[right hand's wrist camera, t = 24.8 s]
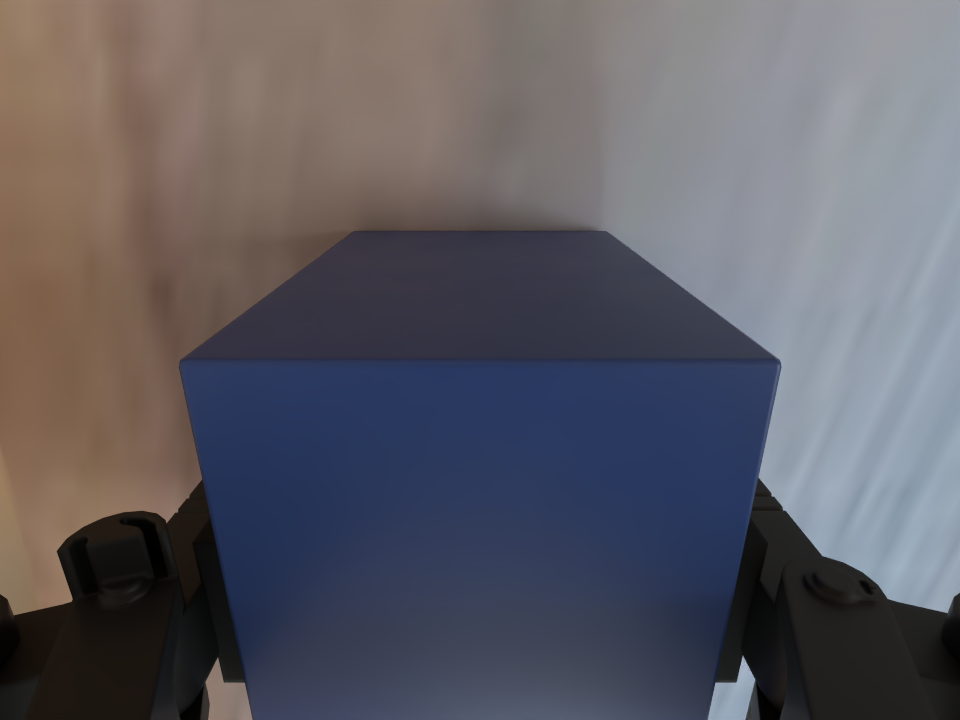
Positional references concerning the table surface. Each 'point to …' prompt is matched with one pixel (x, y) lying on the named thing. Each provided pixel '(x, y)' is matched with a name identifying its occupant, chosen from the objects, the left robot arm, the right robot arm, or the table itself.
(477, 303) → the block
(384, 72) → the table surface
